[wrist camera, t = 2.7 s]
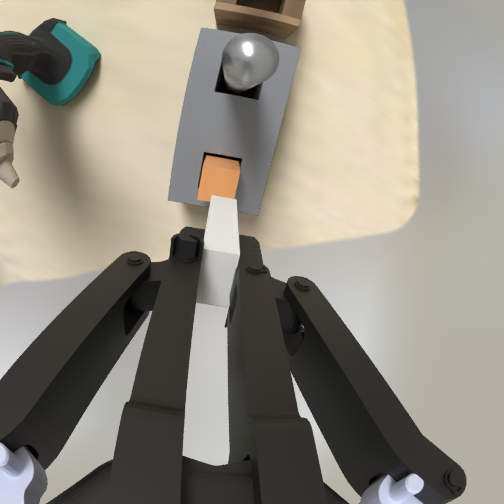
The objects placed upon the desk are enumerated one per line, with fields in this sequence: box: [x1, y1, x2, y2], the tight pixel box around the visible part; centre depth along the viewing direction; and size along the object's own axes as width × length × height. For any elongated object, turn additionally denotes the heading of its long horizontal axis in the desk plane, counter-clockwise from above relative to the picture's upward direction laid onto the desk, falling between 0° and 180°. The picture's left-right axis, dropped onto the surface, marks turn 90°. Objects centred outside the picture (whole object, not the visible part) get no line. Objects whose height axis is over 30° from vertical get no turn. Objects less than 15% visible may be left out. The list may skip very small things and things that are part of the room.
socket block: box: [168, 28, 301, 215], centre depth 27 cm, size 9×17×7 cm, turn 167°
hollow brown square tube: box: [214, 0, 306, 38], centre depth 21 cm, size 8×6×6 cm
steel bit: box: [222, 33, 280, 93], centre depth 21 cm, size 3×3×18 cm
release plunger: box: [197, 155, 240, 202], centre depth 27 cm, size 3×3×8 cm
